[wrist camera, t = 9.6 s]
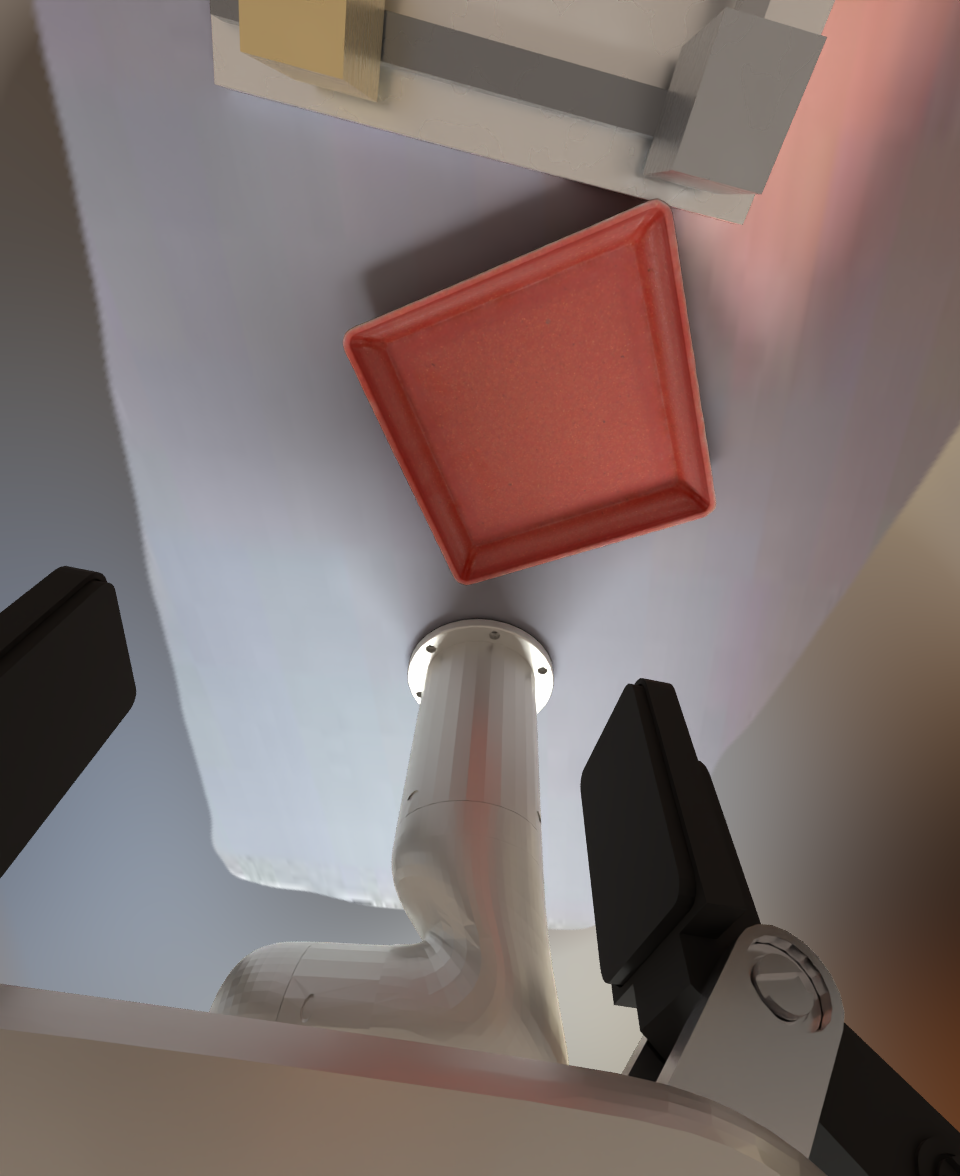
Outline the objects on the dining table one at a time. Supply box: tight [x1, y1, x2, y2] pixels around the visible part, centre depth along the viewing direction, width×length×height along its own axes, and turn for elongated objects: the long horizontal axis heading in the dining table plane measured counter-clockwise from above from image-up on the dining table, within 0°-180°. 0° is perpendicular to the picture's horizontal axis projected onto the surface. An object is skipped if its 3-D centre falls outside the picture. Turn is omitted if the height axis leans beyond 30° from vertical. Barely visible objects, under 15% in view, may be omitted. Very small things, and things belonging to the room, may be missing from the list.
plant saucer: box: [343, 198, 716, 585], centre depth 34 cm, size 18×18×3 cm
